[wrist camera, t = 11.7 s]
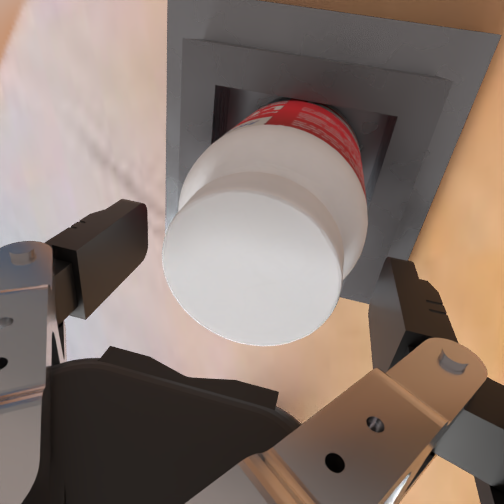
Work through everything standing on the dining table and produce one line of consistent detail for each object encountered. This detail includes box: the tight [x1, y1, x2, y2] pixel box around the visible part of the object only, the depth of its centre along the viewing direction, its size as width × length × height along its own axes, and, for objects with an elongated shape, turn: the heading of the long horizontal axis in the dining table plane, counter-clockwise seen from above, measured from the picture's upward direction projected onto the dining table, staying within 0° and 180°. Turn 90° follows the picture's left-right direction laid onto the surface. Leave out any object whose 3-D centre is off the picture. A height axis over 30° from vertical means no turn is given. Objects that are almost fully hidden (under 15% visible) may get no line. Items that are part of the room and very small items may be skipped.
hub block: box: [165, 0, 501, 304], centre depth 19 cm, size 14×14×4 cm
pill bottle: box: [162, 97, 368, 346], centre depth 14 cm, size 6×6×11 cm
